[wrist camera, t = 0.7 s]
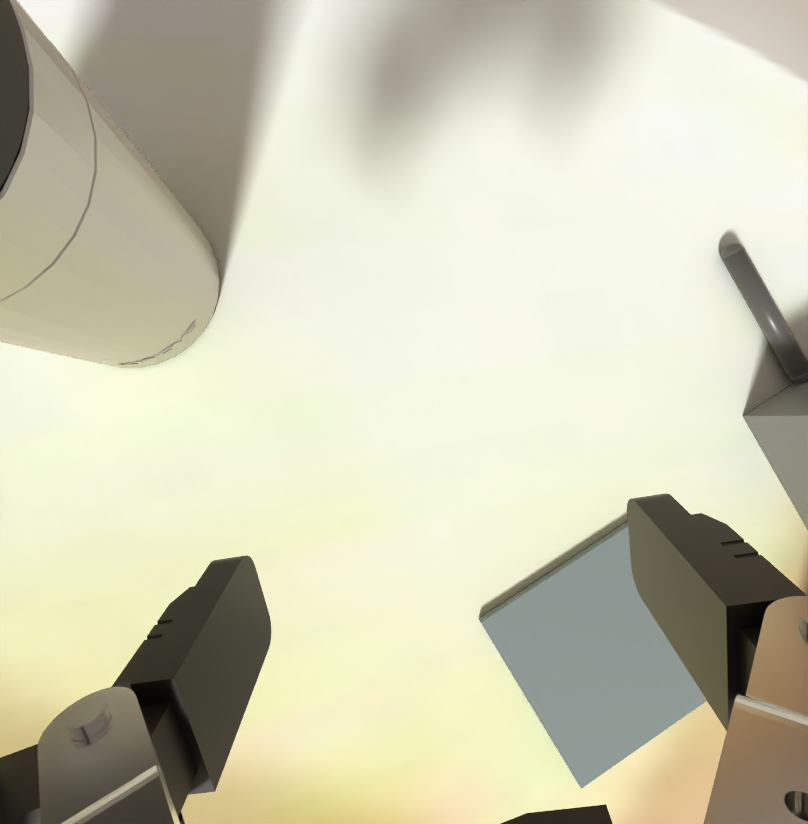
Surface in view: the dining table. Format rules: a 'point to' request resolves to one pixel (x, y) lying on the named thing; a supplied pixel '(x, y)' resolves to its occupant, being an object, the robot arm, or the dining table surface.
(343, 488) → the dining table surface
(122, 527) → the dining table surface
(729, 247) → the socket strip
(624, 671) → the mat
